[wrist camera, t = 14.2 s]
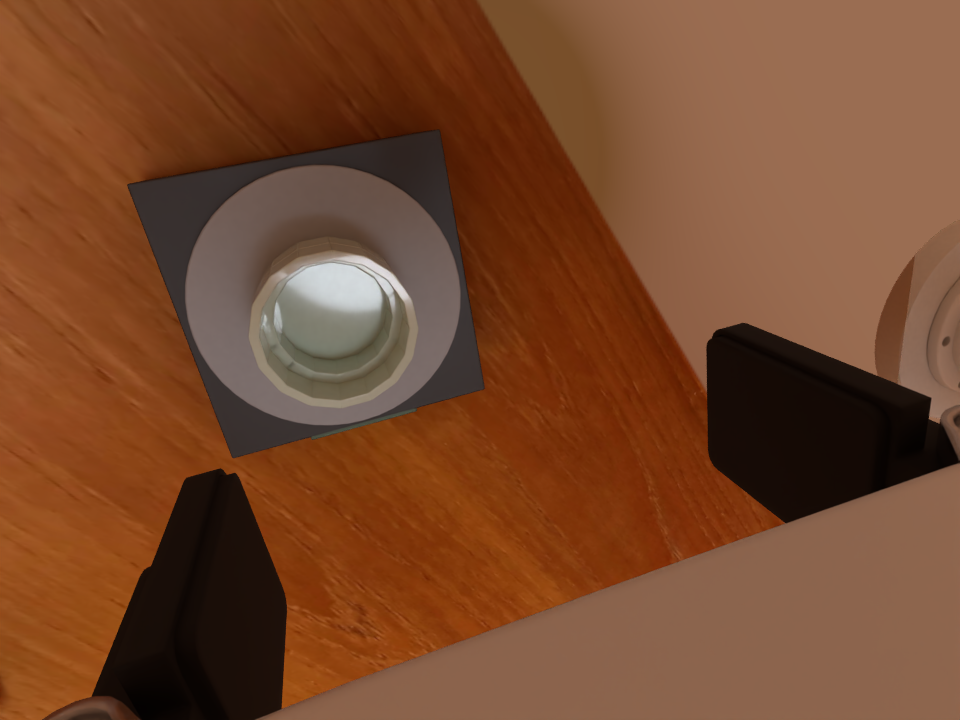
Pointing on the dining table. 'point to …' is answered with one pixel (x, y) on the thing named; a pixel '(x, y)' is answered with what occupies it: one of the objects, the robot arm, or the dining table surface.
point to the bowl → (332, 323)
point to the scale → (300, 217)
